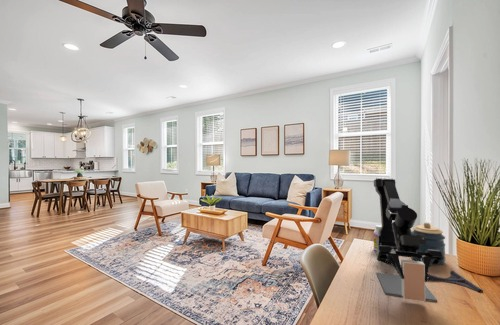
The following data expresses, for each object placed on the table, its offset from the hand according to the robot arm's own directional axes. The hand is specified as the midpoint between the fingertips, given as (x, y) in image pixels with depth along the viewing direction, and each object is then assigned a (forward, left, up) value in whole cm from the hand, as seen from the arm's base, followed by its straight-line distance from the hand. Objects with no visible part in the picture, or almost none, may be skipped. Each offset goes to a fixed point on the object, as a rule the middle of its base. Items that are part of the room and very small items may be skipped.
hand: (414, 280), depth 74 cm
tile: (-1, +1, -7) cm, 7 cm away
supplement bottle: (-36, +36, -8) cm, 51 cm away
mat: (-9, +9, -8) cm, 15 cm away
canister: (-18, +44, -8) cm, 48 cm away
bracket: (-4, +28, -9) cm, 29 cm away
